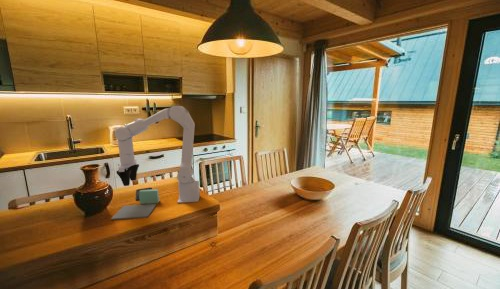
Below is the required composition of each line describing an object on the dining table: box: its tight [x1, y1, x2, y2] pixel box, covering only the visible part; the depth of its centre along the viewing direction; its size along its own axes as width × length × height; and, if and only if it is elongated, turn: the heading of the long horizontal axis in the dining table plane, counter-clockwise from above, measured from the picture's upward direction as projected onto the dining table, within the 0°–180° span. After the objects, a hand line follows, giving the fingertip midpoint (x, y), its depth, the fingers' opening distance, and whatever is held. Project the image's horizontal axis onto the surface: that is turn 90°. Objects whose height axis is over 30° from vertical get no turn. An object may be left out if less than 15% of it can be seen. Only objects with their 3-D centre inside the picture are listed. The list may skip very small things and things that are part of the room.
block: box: [139, 188, 160, 205], centre depth 107 cm, size 8×2×6 cm, turn 96°
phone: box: [134, 187, 153, 202], centre depth 118 cm, size 8×1×15 cm
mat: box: [110, 203, 158, 221], centre depth 98 cm, size 14×12×1 cm
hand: (130, 182), depth 106 cm, fingers open, 7 cm apart
